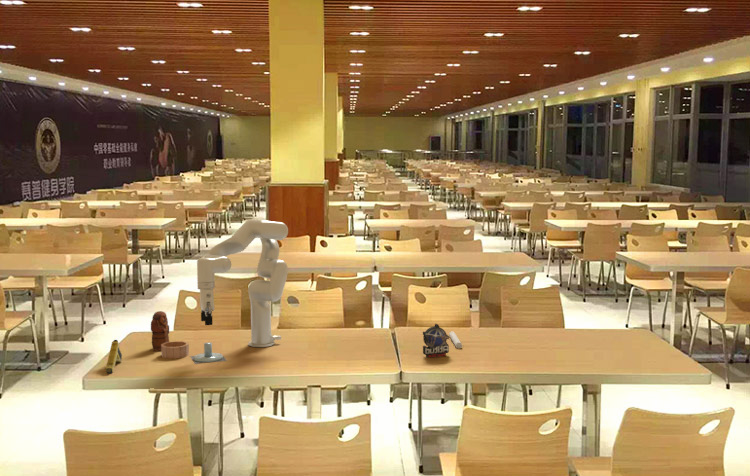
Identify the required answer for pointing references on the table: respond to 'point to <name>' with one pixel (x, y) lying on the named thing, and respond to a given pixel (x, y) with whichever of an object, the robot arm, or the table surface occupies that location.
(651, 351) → the table surface
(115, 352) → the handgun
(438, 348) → the decorative emblem
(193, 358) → the mat
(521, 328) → the table surface
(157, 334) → the wooden figurine
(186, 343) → the bowl
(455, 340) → the tube
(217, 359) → the lid
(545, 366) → the table surface
